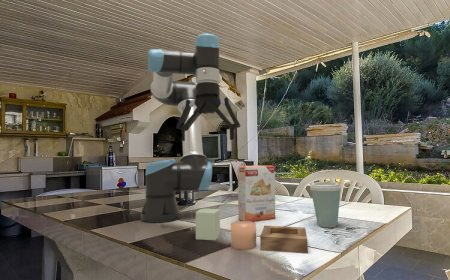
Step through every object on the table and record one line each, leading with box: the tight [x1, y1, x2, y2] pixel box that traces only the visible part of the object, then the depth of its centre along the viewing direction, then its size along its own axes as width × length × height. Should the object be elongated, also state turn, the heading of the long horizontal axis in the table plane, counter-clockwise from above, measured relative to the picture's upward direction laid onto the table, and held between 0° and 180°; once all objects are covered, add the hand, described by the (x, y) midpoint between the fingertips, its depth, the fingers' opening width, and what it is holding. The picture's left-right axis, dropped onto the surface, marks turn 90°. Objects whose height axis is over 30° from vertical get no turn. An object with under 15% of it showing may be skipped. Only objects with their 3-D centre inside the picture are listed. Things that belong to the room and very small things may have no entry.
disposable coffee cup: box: [309, 181, 342, 228], centre depth 102 cm, size 11×11×15 cm
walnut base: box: [259, 225, 309, 254], centre depth 80 cm, size 12×12×4 cm
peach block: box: [230, 220, 257, 250], centre depth 80 cm, size 7×7×6 cm
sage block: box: [195, 208, 221, 241], centre depth 88 cm, size 6×6×8 cm
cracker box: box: [237, 165, 276, 222], centre depth 112 cm, size 14×6×21 cm, turn 117°
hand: (208, 151), depth 89 cm, fingers open, 13 cm apart
